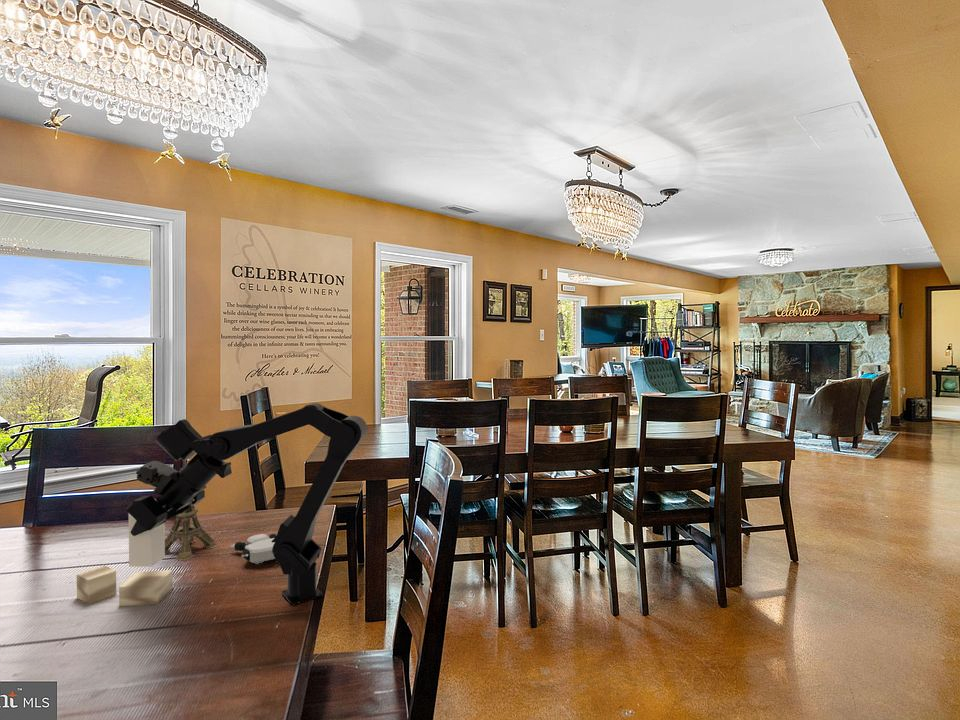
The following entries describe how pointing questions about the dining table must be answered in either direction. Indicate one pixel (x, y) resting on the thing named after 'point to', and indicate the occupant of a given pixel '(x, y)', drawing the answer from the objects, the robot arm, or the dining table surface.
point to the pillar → (146, 546)
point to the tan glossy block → (145, 588)
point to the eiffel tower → (187, 533)
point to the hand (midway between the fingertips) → (140, 530)
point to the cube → (96, 584)
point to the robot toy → (256, 548)
